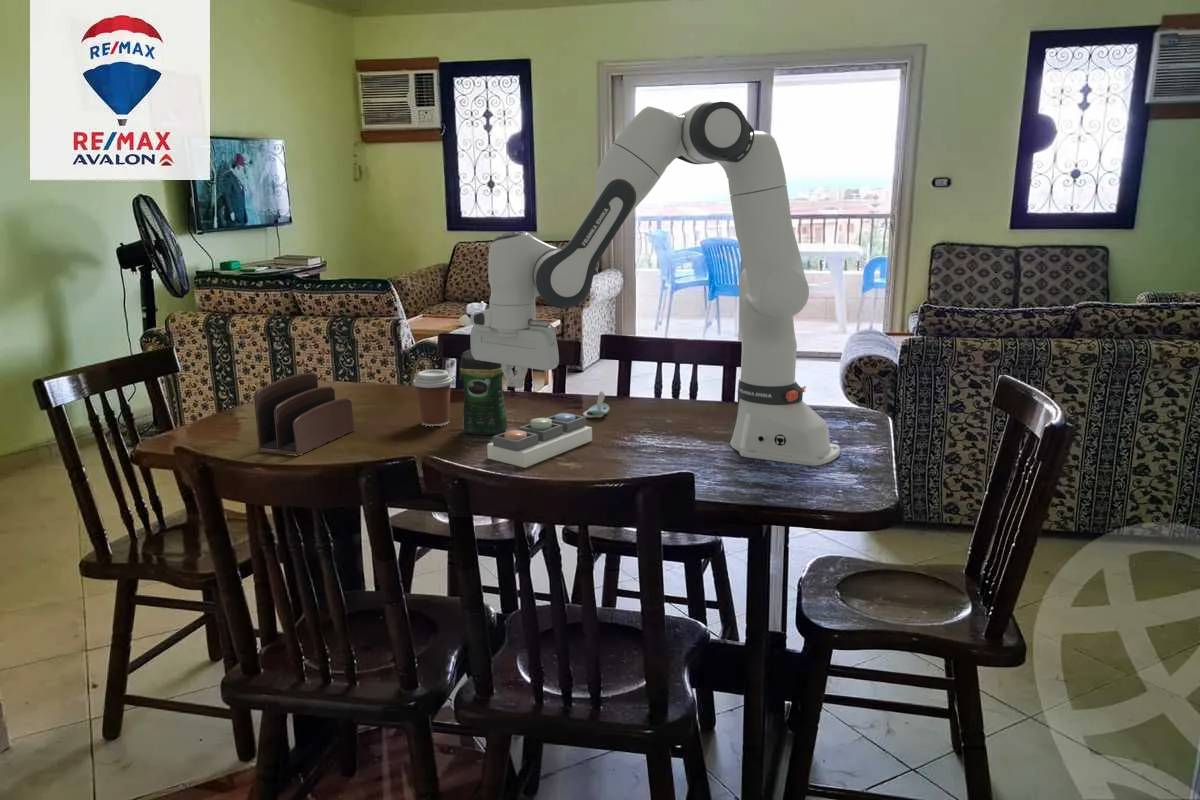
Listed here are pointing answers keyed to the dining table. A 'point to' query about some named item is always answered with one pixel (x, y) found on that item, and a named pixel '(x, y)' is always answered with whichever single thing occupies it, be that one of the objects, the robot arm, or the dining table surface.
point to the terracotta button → (515, 435)
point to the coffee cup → (433, 396)
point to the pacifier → (598, 407)
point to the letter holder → (300, 415)
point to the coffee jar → (482, 396)
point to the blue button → (565, 417)
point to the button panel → (540, 442)
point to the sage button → (541, 424)
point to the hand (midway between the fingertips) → (515, 386)
